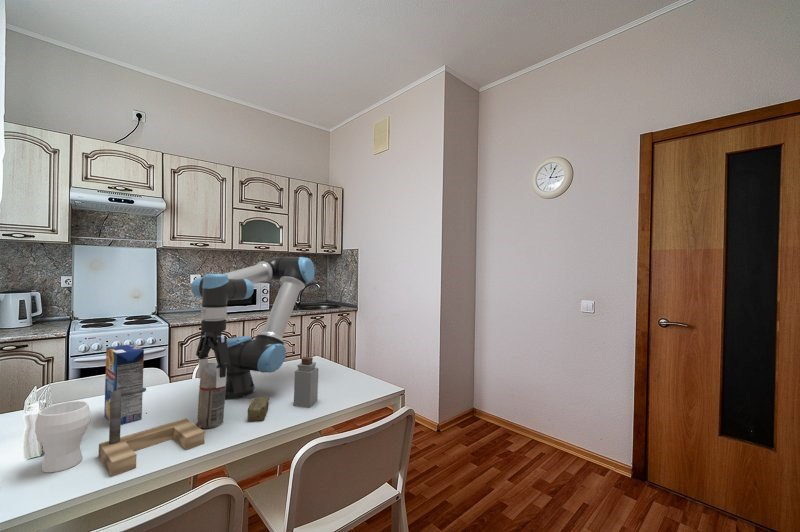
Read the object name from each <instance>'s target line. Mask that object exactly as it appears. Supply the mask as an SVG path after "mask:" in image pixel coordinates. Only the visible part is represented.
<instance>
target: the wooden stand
mask: <svg viewBox="0 0 800 532" xmlns="http://www.w3.org/2000/svg"><path fill="white" fill-rule="evenodd" d="M146 391H147V388H146V387H143V388H140V389H135V390H130V391H126V392H122V391H113V392H111V396H110V422H109V429H108V430H109V431H108V432H109V433H108V440H106V441H104V442H103V441H102V442H100V443H98V457H99V459H100V460H101V462H102V464H103V465H104V466H105V468H106V470H107V471H108V473H109V474H110V476H111V477H114V476H117V475H120V474H123V473H125V472H128V471H131V470H133V469H136V468H137V453H136V452H135V451H138V450H141V449H146V448H149V447H151V446H154V445H158V444H160V443H163V442H166V441H167V442H168V441H170V440H174V441H175V442H176V443H177V444H179V445H180V447H182V448H183V449H184V450H186V451H187V450H190V449H193V448H196V447H198V446H201V445H203V444H205V438H206V437H205V434H206V433H205V430H203V428H202V429H201V427H198V426H197V424H195V423H194V422H192V421H191V420H190V419H188V418H186V417H185V418H182V419H179V420H178V419H177V420H174V421H172V422H168V423H165V424H161V425H158V426H154V427H150V428H148V429H144V430H141V431H137V432H133V433H131V434H126V435H123V436H121V426H122V425H121V397H123V396H127V395H132V394H136V393H141V392H143V393H144V392H146Z"/></svg>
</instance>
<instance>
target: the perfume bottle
mask: <svg viewBox="0 0 800 532" xmlns="http://www.w3.org/2000/svg"><path fill="white" fill-rule="evenodd" d="M300 360H301V362H300V363H298V364H297V369H296V370H294V379H293V381H294V382H293V383H294V385H293V387H294V388H293V406H294V407H301V408H306V409H307V408H308V409H311V408H312V407H313V406H314V405H315V404H316V403H318V393H319V392H318V391H319V367H316V365H317V362H315V361H313V356H304V357H302V358H301V359H300Z"/></svg>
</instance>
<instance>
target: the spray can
mask: <svg viewBox="0 0 800 532" xmlns="http://www.w3.org/2000/svg"><path fill="white" fill-rule="evenodd" d="M217 366H218V363H216V362H208V364H206V365H204V366H203V368H202V372H201V378H200V379H199V386H198V387H199V389H198V402H197V403H198V404H197V417H196V418H197V422H196V426H198V427H199V428H200V429H201V428H202V429H211V428H216V427H218V426H220V425H222V424H224V418H225V417H224V416H225V415H224V414H225V404H226V399H225V392H226V385H225V386H223V387H219V388H216V374H217V368H216V367H217ZM226 382H227V369H226Z"/></svg>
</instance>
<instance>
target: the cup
mask: <svg viewBox="0 0 800 532" xmlns="http://www.w3.org/2000/svg"><path fill="white" fill-rule="evenodd" d="M91 413H92V412H91V409H90V406H89V403H88V402H87V401H85V400H72V401H64V402H60V403H56V404H52V405H50V406H46V407H44V408H42V409H41V410H39V411H38V414H37V416H36V419H35V425H34V426H35V428H34V433H35V436H36V438H37V440H38V441H39V442H40V444H41V445H42V446H43V450H44V451H43V452H44V457H43V461H42V466H41V471H42V472H44V473H56V472H61V471H64V470H67V469H70V468H72V467H74V466H77V465H78V464H80V463H81V462H82V460H83V455H82V450H81V444H82V443H81V442H82V438H83V437H84V436H83V435H84V434H85V433H86V432H87V429H88V428H89V424H90V422H91V417H92V415H91Z"/></svg>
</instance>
